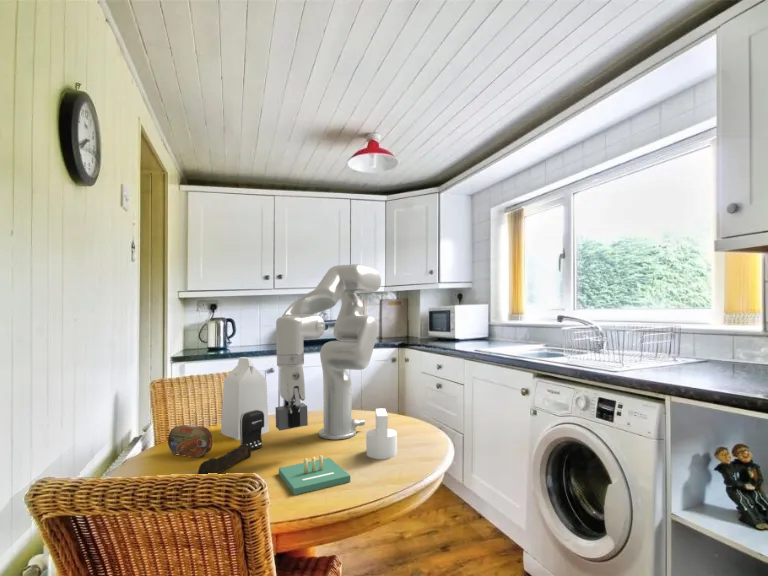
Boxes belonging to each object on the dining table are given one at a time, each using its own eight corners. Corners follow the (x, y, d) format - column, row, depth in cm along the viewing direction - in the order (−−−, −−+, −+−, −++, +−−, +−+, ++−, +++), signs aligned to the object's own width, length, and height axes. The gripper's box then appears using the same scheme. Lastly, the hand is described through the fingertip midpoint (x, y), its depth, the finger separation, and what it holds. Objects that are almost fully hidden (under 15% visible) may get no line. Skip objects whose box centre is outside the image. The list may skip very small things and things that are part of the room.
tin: (166, 453, 119) (167, 425, 120) (175, 450, 122) (176, 422, 123) (206, 459, 114) (206, 429, 115) (214, 455, 117) (214, 426, 118)
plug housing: (303, 421, 117) (302, 402, 117) (307, 425, 113) (307, 405, 113) (275, 426, 113) (275, 407, 113) (279, 430, 109) (279, 410, 109)
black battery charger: (247, 453, 118) (247, 414, 119) (239, 451, 120) (239, 413, 121) (266, 447, 124) (266, 409, 125) (258, 444, 126) (258, 408, 127)
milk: (269, 432, 140) (269, 357, 141) (238, 440, 131) (238, 360, 132) (250, 425, 147) (251, 355, 149) (220, 433, 139) (221, 358, 140)
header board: (329, 463, 110) (329, 444, 110) (350, 481, 98) (350, 460, 98) (278, 473, 103) (278, 454, 103) (294, 495, 91) (294, 472, 91)
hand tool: (240, 456, 116) (240, 440, 117) (251, 458, 115) (251, 441, 115) (188, 484, 99) (188, 464, 99) (201, 486, 97) (201, 466, 98)
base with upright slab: (398, 458, 113) (398, 415, 113) (366, 460, 112) (366, 416, 113) (395, 447, 122) (395, 408, 122) (366, 449, 121) (365, 408, 122)
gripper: (312, 362, 108) (314, 430, 108) (294, 355, 123) (296, 415, 122) (285, 365, 104) (286, 435, 104) (270, 357, 119) (271, 419, 118)
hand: (291, 423), depth 113 cm, fingers closed on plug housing, 4 cm apart
